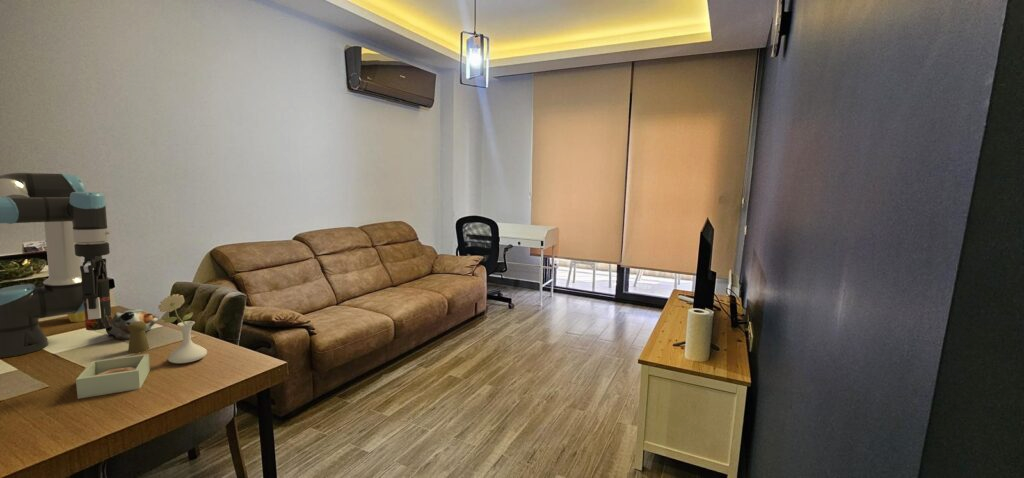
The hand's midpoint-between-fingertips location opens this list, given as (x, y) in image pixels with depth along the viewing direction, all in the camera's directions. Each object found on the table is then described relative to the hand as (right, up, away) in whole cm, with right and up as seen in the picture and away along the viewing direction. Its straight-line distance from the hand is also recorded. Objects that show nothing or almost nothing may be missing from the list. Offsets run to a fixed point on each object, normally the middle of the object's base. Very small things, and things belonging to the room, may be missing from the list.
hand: (98, 315), depth 131 cm
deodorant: (0, -4, 0) cm, 4 cm away
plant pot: (-62, -12, +54) cm, 83 cm away
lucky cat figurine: (-26, -16, +41) cm, 51 cm away
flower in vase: (+11, -20, +21) cm, 31 cm away
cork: (-11, -18, +27) cm, 34 cm away
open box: (+4, -22, +2) cm, 23 cm away
